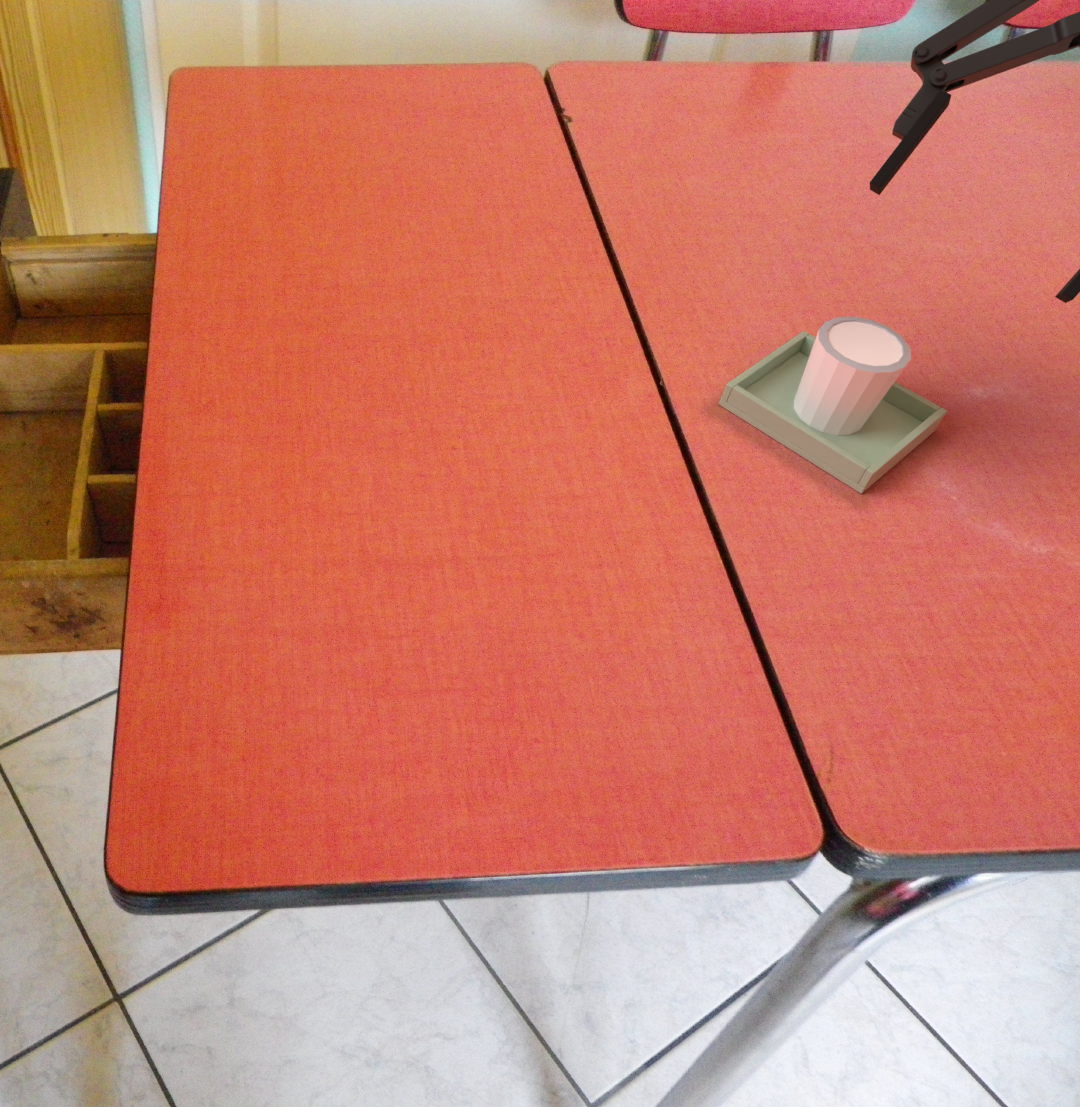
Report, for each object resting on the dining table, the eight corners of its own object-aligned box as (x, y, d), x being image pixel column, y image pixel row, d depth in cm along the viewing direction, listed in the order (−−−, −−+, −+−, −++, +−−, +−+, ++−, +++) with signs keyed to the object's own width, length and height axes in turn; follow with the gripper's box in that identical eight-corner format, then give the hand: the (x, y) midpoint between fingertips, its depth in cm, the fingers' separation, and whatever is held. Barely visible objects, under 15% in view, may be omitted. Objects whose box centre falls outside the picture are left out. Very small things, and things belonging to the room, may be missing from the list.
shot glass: (816, 373, 86) (850, 304, 80) (889, 416, 82) (930, 347, 77) (768, 406, 83) (800, 337, 77) (842, 453, 79) (881, 383, 74)
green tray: (934, 431, 82) (947, 410, 81) (861, 494, 77) (873, 473, 76) (794, 350, 89) (803, 330, 87) (717, 404, 84) (726, 383, 82)
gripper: (1431, 34, 58) (1135, 350, 66) (1027, -147, 65) (804, 158, 73) (1503, -12, 52) (1165, 345, 60) (1045, -208, 59) (798, 134, 67)
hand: (965, 242), depth 66 cm, fingers open, 13 cm apart
